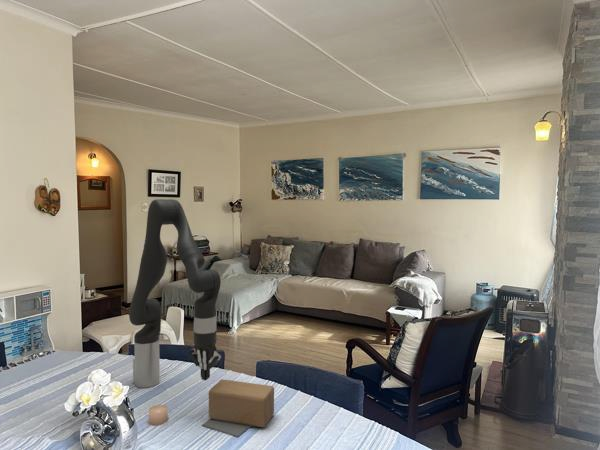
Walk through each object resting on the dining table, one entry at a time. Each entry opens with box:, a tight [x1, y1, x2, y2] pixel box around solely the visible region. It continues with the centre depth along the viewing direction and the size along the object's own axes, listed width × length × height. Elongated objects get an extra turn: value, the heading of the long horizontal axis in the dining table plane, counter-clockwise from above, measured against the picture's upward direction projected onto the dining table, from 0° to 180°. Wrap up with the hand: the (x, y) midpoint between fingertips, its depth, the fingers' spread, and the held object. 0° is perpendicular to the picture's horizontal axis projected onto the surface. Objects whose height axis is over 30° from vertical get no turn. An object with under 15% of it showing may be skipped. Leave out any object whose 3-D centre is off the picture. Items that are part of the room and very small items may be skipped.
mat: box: [201, 418, 253, 438], centre depth 140 cm, size 14×14×1 cm
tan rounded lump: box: [148, 404, 169, 426], centre depth 140 cm, size 6×6×4 cm
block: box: [208, 378, 275, 428], centre depth 142 cm, size 10×10×20 cm
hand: (205, 379), depth 145 cm, fingers closed
